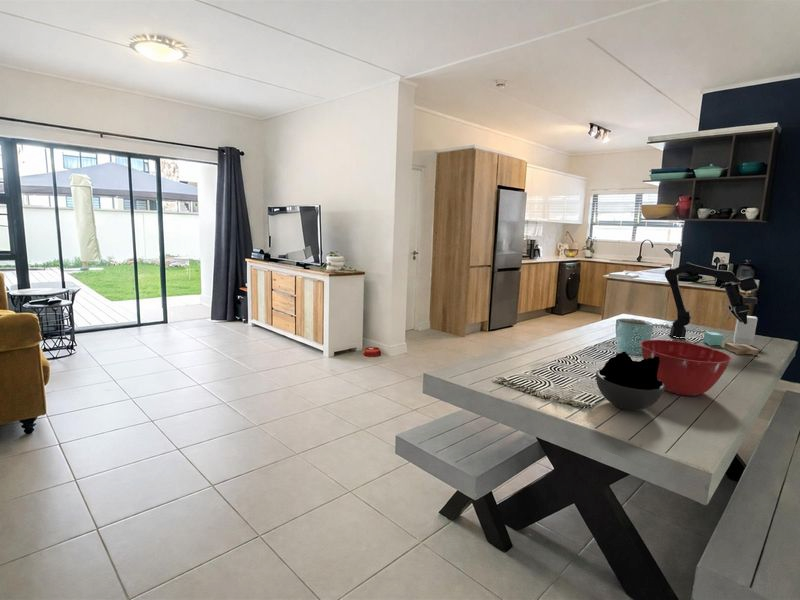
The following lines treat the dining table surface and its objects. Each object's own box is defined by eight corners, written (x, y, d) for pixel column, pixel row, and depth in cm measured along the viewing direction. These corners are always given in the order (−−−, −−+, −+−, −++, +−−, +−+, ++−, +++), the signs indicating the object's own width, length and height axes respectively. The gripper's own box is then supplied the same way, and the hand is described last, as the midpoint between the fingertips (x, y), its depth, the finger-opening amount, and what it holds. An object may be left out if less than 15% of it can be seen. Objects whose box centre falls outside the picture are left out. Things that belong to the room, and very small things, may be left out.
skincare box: (751, 344, 238) (756, 316, 235) (752, 347, 232) (758, 318, 229) (732, 341, 242) (737, 314, 239) (733, 343, 237) (739, 316, 234)
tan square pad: (736, 354, 216) (737, 348, 216) (723, 348, 226) (725, 342, 225) (757, 355, 215) (759, 349, 215) (744, 349, 225) (745, 344, 225)
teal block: (709, 345, 230) (711, 334, 229) (702, 342, 236) (704, 331, 235) (721, 346, 230) (723, 335, 229) (714, 343, 236) (716, 332, 235)
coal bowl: (582, 404, 143) (590, 350, 140) (605, 390, 157) (613, 340, 154) (648, 427, 129) (659, 367, 126) (667, 409, 143) (677, 355, 140)
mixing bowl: (617, 378, 171) (623, 340, 168) (669, 372, 181) (675, 337, 178) (686, 408, 145) (694, 364, 142) (741, 400, 155) (750, 359, 152)
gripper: (757, 290, 215) (768, 321, 213) (747, 289, 231) (757, 317, 230) (730, 297, 220) (740, 326, 219) (723, 295, 236) (732, 322, 235)
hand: (743, 323), depth 225 cm, fingers open, 9 cm apart
